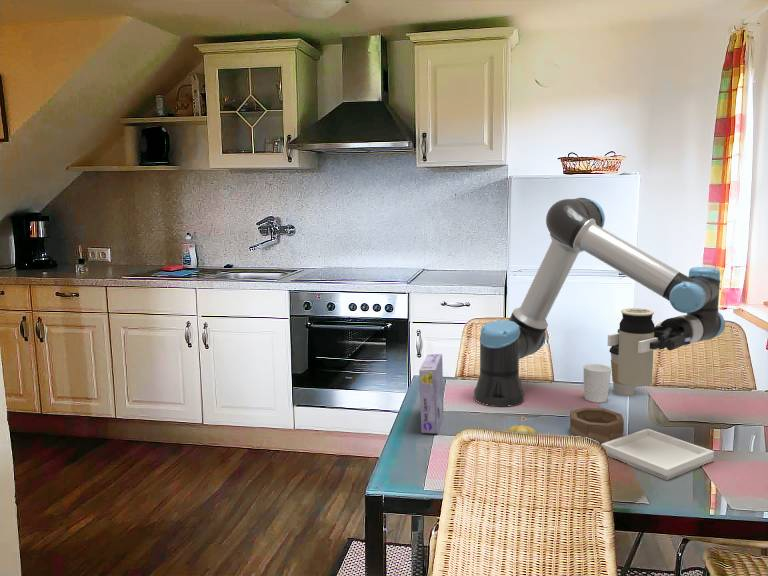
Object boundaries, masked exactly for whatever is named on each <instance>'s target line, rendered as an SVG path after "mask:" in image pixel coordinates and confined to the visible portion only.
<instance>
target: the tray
mask: <svg viewBox="0 0 768 576" xmlns="http://www.w3.org/2000/svg"><path fill="white" fill-rule="evenodd" d="M601 445H602V446H603V447H604V448H605V449H606V450H607V453H608V456H609V457H608V456H607V457H608V458H611V457H613V458H615V459H618V460H620V461H622V462H621V463H623V462H624V463H623V464H625V463H627V464H626V465H628V466H631V467H632V468H636V469H638V470H641V471H643V472H645V473H648V474H650V475H652V476H655V477H657V478H660V479H663V480H665V481H669V480H671V479H674V478H676V477H679V476H682V475H683V474H687V473H688V472H691V471H694V470H696V469H698V468H700V466H701V467H703V466H705V465H704V464H706V463H707V462H710V461H712V460H713V461H714V458H715V457H714V456H715V450H711V449H709V448H705V447H703V446H700V445H697V444H693V443H691V442H688V441H684V440H682V439H680V438H676V437H674V436H671V435H668V434H665V433H663V432H659V431H656V430H653V429H650V428H649V427H648V428H645V429H641V430H638V431H636V432H632V433H630V434H627V435H623V437H620V438H617V439H614V440H611V441H608V442H605V443H602V444H600V446H601ZM613 458H612V459H613ZM615 459H614V460H615ZM618 460H617V461H618ZM620 461H619V462H620ZM702 465H703V466H702ZM706 465H707V464H706Z"/></svg>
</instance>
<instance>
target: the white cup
mask: <svg viewBox="0 0 768 576" xmlns="http://www.w3.org/2000/svg"><path fill="white" fill-rule="evenodd" d="M611 374H612V369H611V366H610V365H609V366H608V365H605V364H601V363H588V364H584V365H583V394H584V395H583V397H584V400H585V401H587V402H590V403H591V402H592V403H605V402H608V400H609V399H608V398H609V392H610V391H609V390H610V383H611Z"/></svg>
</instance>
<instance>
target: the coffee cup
mask: <svg viewBox="0 0 768 576" xmlns="http://www.w3.org/2000/svg"><path fill="white" fill-rule="evenodd" d="M609 353H610V358H611V359H610V368H611V381H612V384H613V385H612V386H613V393H614V394H615V395H618V396H622V397H630V396H634V395H635V393H636V388H637V387H633V386H627V385H624V384H622V383H620V382H619V381H618V357H619V344H618V345H614V346H610V348H609Z"/></svg>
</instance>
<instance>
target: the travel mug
mask: <svg viewBox="0 0 768 576" xmlns="http://www.w3.org/2000/svg"><path fill="white" fill-rule="evenodd" d="M620 313H621V314H622V318H621V320H620V322H619V328H618V329H619V357H618V381H619V382H620V383H622V384H624V385H627V386H633V387H636V388H638V387H639V388H643V387H648V386H651V385H652V384H653V374H654V373H653V372H654V371H653V369H654V351H655V350H652V351H648V352H644V353H638V341H643V340H647V339H651V338H654V327H656V326H655V323H654V321H653V315H654V314H655V311H653V310H652V309H646V308H637V307H636V308H635V307H632V308H631V307H630V308H629V307H628V308H623V309H621V310H620Z"/></svg>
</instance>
